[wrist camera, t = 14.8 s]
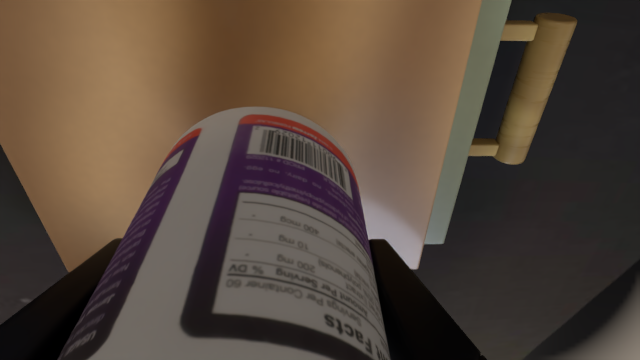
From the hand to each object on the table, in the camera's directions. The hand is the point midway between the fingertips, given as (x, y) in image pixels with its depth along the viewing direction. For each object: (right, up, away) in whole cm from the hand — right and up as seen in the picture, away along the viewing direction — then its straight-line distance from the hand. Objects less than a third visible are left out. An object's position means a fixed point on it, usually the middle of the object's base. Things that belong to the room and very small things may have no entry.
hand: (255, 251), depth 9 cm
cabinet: (-2, +8, +10) cm, 13 cm away
